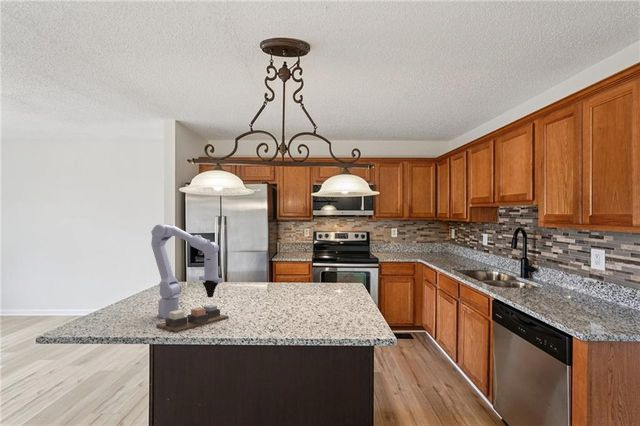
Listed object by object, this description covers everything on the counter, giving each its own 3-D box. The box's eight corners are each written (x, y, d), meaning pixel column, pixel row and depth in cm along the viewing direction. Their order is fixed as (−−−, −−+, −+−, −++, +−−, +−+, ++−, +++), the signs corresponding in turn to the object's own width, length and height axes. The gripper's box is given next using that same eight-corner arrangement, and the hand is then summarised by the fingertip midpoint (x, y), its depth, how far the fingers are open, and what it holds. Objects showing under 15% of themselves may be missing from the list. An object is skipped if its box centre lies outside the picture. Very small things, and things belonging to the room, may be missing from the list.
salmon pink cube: (191, 317, 170) (191, 309, 170) (199, 314, 173) (199, 307, 173) (197, 318, 167) (197, 310, 167) (205, 316, 171) (205, 308, 171)
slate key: (203, 313, 179) (203, 306, 179) (211, 312, 182) (211, 304, 182) (209, 315, 176) (209, 307, 176) (217, 313, 180) (217, 306, 180)
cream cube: (168, 320, 164) (168, 312, 164) (177, 318, 168) (177, 310, 168) (174, 322, 161) (174, 313, 161) (183, 319, 165) (184, 311, 165)
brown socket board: (156, 326, 164) (156, 317, 164) (209, 313, 187) (209, 305, 187) (175, 332, 156) (175, 323, 156) (228, 318, 179) (228, 309, 179)
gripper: (193, 267, 180) (193, 296, 180) (213, 270, 172) (213, 300, 172) (206, 266, 186) (205, 294, 186) (226, 268, 178) (225, 297, 177)
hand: (210, 297), depth 179 cm, fingers closed
